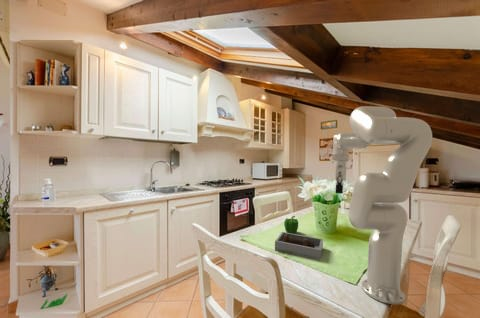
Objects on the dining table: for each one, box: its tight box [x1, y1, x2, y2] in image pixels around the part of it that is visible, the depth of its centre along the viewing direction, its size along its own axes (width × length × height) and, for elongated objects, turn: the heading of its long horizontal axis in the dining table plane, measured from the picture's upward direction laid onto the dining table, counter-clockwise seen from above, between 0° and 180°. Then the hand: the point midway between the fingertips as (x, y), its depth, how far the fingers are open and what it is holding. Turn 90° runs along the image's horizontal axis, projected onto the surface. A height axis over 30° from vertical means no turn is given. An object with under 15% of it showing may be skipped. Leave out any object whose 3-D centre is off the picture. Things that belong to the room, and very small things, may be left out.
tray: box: [274, 231, 324, 261], centre depth 109 cm, size 14×21×4 cm, turn 65°
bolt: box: [283, 232, 315, 248], centre depth 109 cm, size 6×5×15 cm
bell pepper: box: [283, 215, 299, 234], centre depth 131 cm, size 8×8×10 cm
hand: (339, 191), depth 113 cm, fingers open, 9 cm apart
